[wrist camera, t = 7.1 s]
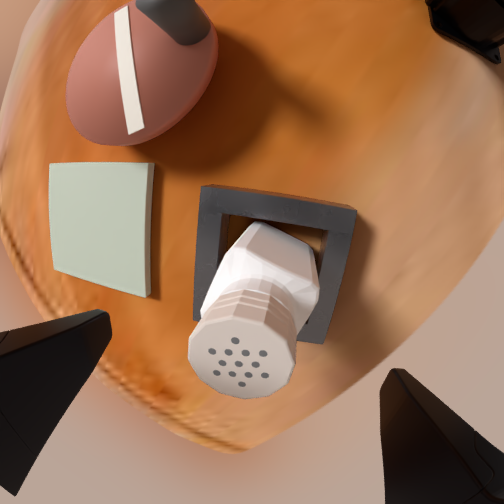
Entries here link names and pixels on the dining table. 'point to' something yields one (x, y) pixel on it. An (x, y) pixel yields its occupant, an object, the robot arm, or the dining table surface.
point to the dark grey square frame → (281, 210)
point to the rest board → (102, 222)
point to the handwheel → (141, 71)
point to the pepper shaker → (255, 314)
